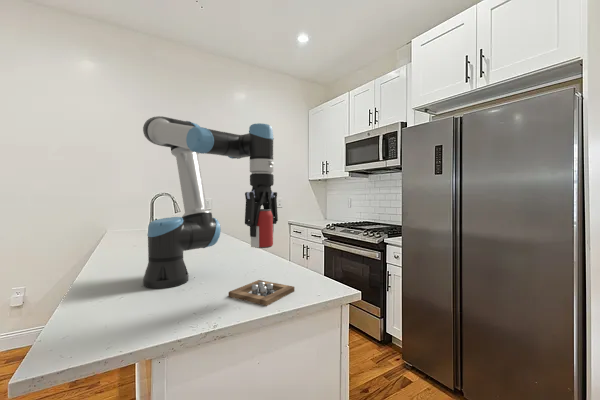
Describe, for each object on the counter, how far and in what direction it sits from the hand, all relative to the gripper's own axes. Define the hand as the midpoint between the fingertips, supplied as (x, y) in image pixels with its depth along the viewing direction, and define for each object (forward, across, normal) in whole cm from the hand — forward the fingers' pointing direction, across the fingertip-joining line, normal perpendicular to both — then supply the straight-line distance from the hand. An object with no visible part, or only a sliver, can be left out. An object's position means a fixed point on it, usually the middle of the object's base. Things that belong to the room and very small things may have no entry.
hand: (262, 245), depth 95 cm
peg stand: (+16, 0, 0) cm, 16 cm away
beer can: (+1, 0, 0) cm, 1 cm away
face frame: (+16, 0, 0) cm, 16 cm away
